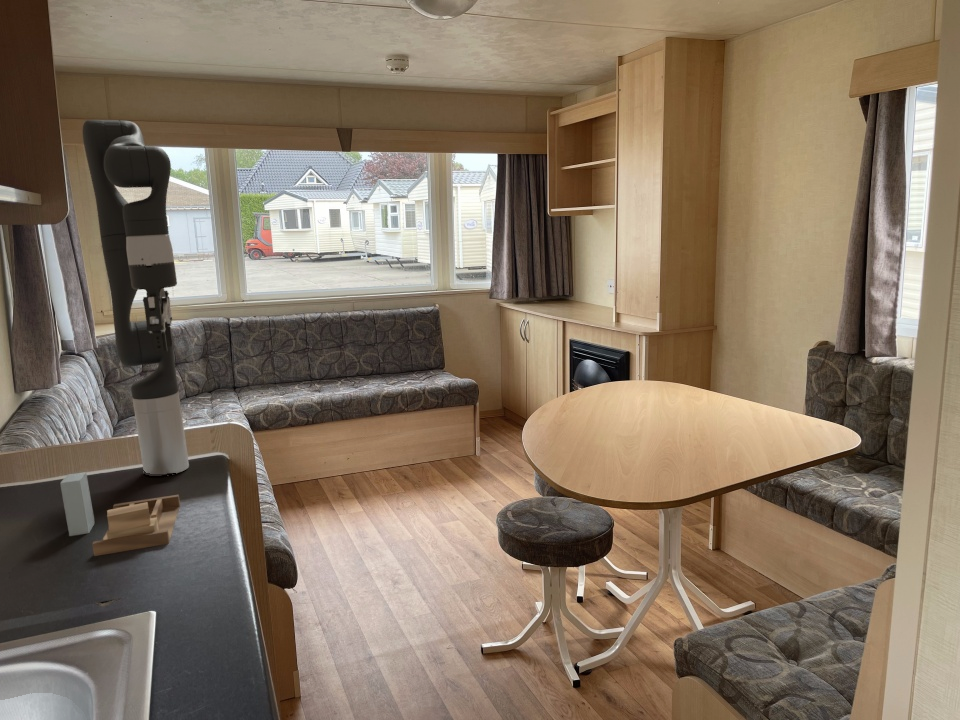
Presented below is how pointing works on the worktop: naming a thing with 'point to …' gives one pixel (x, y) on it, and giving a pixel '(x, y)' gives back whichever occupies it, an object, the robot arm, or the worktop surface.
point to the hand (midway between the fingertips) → (163, 350)
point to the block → (77, 503)
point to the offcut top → (128, 517)
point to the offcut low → (135, 530)
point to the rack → (166, 519)
